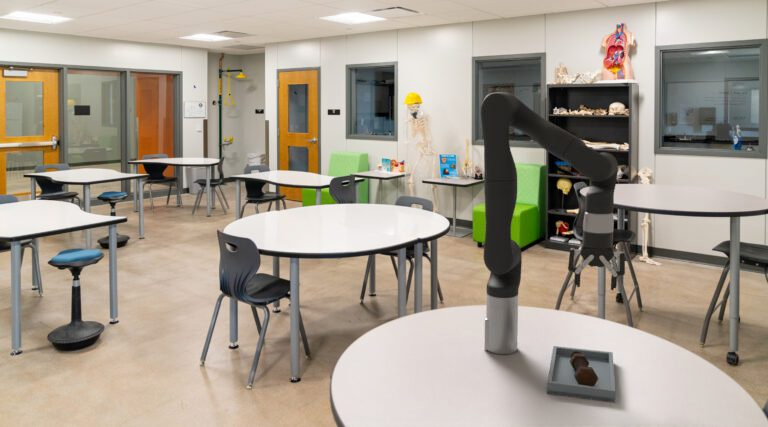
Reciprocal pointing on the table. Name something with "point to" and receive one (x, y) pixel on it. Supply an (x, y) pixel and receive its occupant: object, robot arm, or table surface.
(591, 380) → the bolt
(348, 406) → the table surface
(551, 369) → the tray
